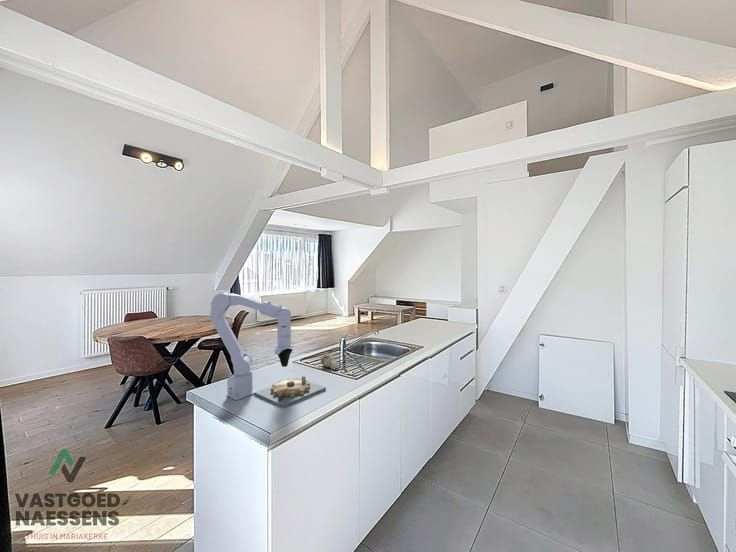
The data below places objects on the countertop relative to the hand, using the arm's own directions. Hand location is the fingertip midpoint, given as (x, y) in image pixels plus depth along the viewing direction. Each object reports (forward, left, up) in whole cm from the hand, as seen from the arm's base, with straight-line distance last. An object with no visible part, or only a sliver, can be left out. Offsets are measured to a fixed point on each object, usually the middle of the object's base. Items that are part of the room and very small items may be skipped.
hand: (284, 366), depth 135 cm
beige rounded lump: (+34, +6, -11) cm, 36 cm away
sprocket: (-1, -5, -9) cm, 10 cm away
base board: (-1, -5, -10) cm, 11 cm away
